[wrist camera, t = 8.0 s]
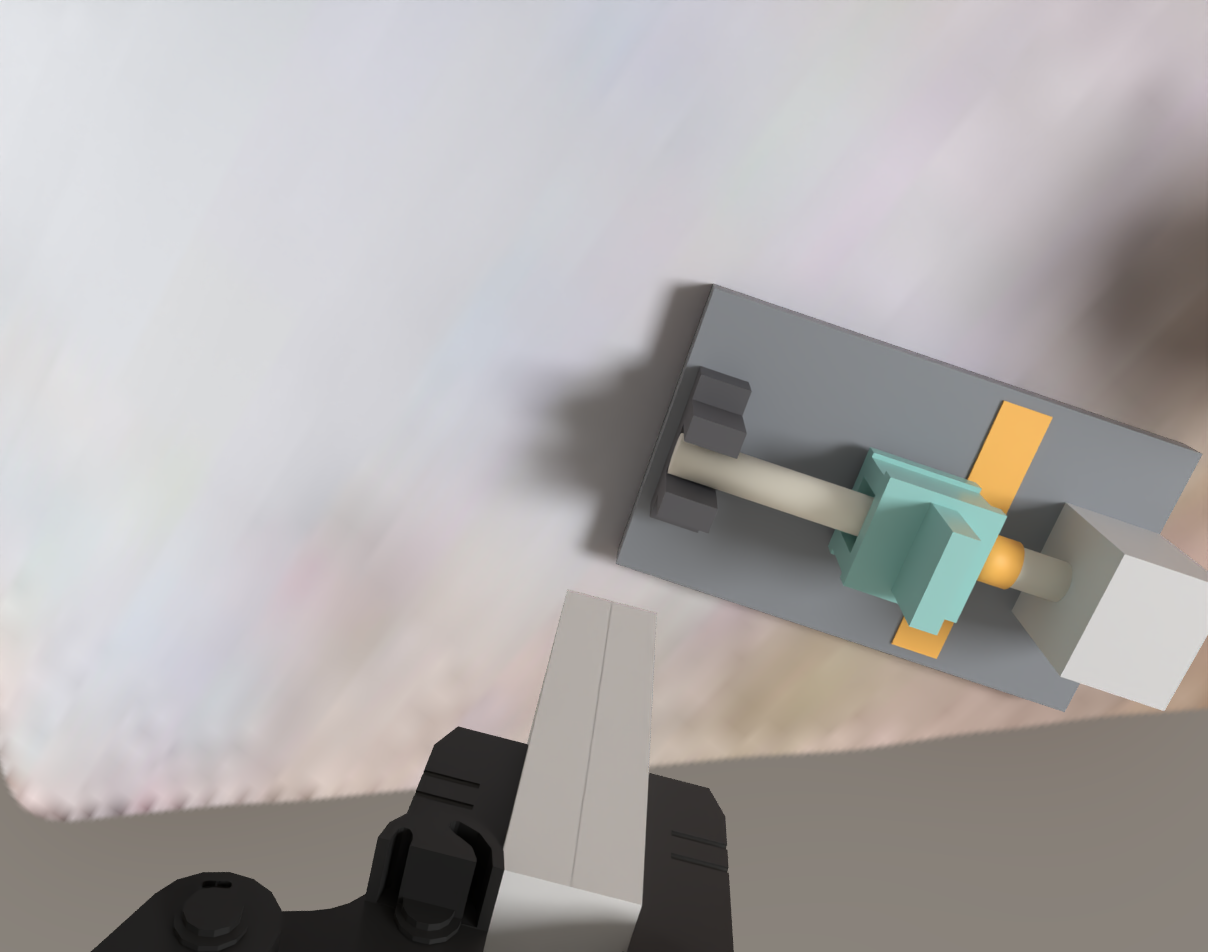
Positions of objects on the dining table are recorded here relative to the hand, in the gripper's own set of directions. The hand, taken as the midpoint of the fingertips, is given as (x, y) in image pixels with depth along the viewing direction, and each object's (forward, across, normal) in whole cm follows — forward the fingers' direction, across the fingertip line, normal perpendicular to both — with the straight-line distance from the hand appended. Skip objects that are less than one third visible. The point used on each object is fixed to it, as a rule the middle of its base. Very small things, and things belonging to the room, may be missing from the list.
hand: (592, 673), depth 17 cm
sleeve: (+24, +11, -3) cm, 27 cm away
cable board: (+26, +12, -4) cm, 28 cm away
